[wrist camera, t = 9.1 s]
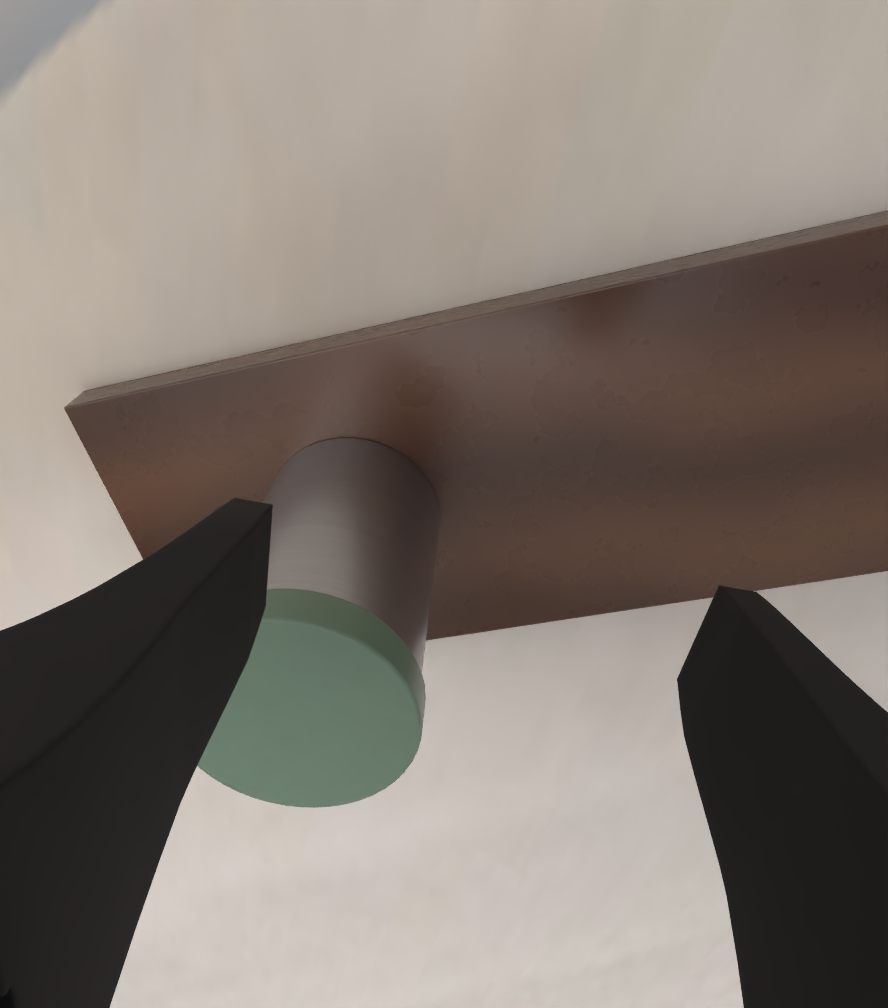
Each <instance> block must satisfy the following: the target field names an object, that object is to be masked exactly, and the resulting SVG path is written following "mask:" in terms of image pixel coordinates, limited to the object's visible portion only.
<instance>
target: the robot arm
mask: <svg viewBox="0 0 888 1008" xmlns="http://www.w3.org/2000/svg"><path fill="white" fill-rule="evenodd" d="M272 511H273V504H267V503H262V502H256V501H251V500H245V499H239V498H233V499H232V500H230V501H229V502H227V503H226V504H224V505H223V506H221V507H220V508H218V509H217V510H215V511H214V512H212V513H211V514H210V515H208V516H207V517H205V518H204V519H203V520H201V521H200V522H198V523H197V524H196V525H194V526H193V527H191V528H190V529H188V530H187V531H186V532H184V533H183V534H181V535H180V536H178V537H177V538H175V539H174V540H172V541H171V542H169V543H168V544H166V545H165V546H163V547H162V548H160V549H159V550H157V551H156V552H154V553H153V554H151V555H150V556H148V557H147V558H145V559H144V560H142V561H140V562H139V563H137V564H135V565H134V566H132V567H130V568H128V569H127V570H125V571H123V572H122V573H120V574H118V575H117V576H115V577H113V578H112V579H110V580H108V581H106V582H105V583H103V584H101V585H100V586H98V587H96V588H94V589H92V590H90V591H88V592H86V593H84V594H82V595H80V596H78V597H77V598H75V599H73V600H71V601H68V602H66V603H64V604H62V605H60V606H58V607H56V608H54V609H51V610H49V611H47V612H45V613H43V614H41V615H39V616H36V617H34V618H32V619H29V620H27V621H25V622H22V623H20V624H17V625H14V626H12V627H9V628H7V629H4V630H1V631H0V1008H109V1007H110V1004H111V1001H112V998H113V995H114V992H115V989H116V986H117V983H118V980H119V977H120V974H121V971H122V968H123V965H124V962H125V959H126V956H127V953H128V950H129V947H130V944H131V941H132V938H133V935H134V932H135V929H136V926H137V923H138V920H139V918H140V915H141V912H142V909H143V906H144V903H145V900H146V897H147V895H148V892H149V889H150V886H151V883H152V880H153V877H154V874H155V872H156V869H157V866H158V863H159V860H160V858H161V855H162V852H163V849H164V847H165V844H166V841H167V838H168V836H169V833H170V830H171V827H172V825H173V822H174V819H175V816H176V814H177V811H178V808H179V805H180V803H181V800H182V798H183V796H184V794H185V791H186V789H187V787H188V784H189V782H190V780H191V777H192V775H193V773H194V771H195V769H196V767H197V765H198V763H199V761H200V759H201V757H202V755H203V753H204V750H205V748H206V746H207V744H208V742H209V740H210V738H211V736H212V734H213V732H214V730H215V728H216V726H217V724H218V722H219V720H220V718H221V715H222V713H223V711H224V709H225V707H226V705H227V703H228V701H229V699H230V697H231V695H232V693H233V691H234V689H235V686H236V684H237V682H238V680H239V678H240V676H241V674H242V672H243V670H244V668H245V665H246V663H247V661H248V659H249V656H250V653H251V650H252V647H253V644H254V641H255V638H256V635H257V632H258V629H259V626H260V623H261V620H262V617H263V614H264V610H265V607H266V596H267V582H268V568H269V553H270V539H271V525H272ZM677 682H678V691H679V700H680V710H681V717H682V724H683V731H684V737H685V741H686V745H687V749H688V753H689V756H690V760H691V764H692V767H693V771H694V775H695V779H696V782H697V786H698V790H699V793H700V797H701V800H702V804H703V807H704V811H705V815H706V818H707V822H708V825H709V829H710V832H711V836H712V840H713V843H714V847H715V850H716V854H717V858H718V861H719V865H720V869H721V873H722V878H723V882H724V886H725V891H726V895H727V901H728V907H729V913H730V919H731V925H732V931H733V937H734V943H735V949H736V955H737V961H738V968H739V976H740V983H741V990H742V997H743V1004H744V1008H888V712H887V711H885V710H884V709H883V708H882V707H881V706H880V705H878V704H877V703H876V702H875V701H874V700H873V699H872V698H871V697H869V696H868V695H867V694H866V693H865V692H864V691H863V690H862V689H861V688H859V687H858V686H857V685H856V684H855V683H854V682H853V681H852V680H851V679H850V678H849V677H847V676H846V675H845V674H844V673H843V672H842V671H841V670H840V669H839V668H838V667H837V666H836V665H835V664H834V663H833V662H832V661H831V660H829V659H828V658H827V657H826V656H825V655H824V654H823V653H822V652H821V651H820V650H819V649H818V648H817V647H816V646H815V645H814V644H813V643H812V642H811V641H810V640H809V639H808V638H807V637H805V636H804V635H803V634H802V633H801V632H800V631H799V630H798V629H797V628H796V627H795V626H794V625H793V624H792V623H791V622H790V621H789V620H788V619H787V618H786V617H784V616H783V615H782V614H781V613H780V612H779V611H778V610H777V609H776V608H775V607H774V606H772V605H771V604H770V603H769V602H768V601H767V600H766V599H764V598H763V597H762V596H761V595H759V594H758V593H757V592H754V591H748V590H743V589H737V588H732V587H726V586H721V585H719V586H718V589H717V591H716V593H715V595H714V598H713V600H712V602H711V604H710V607H709V609H708V611H707V613H706V616H705V618H704V620H703V622H702V625H701V627H700V629H699V631H698V634H697V636H696V638H695V640H694V642H693V645H692V647H691V649H690V651H689V654H688V656H687V658H686V660H685V663H684V665H683V667H682V669H681V672H680V674H679V676H678V678H677Z"/></svg>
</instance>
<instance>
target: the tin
mask: <svg viewBox="0 0 888 1008" xmlns="http://www.w3.org/2000/svg"><path fill="white" fill-rule="evenodd" d="M263 503H267V504H273V511H272V525H271V539H270V553H269V568H268V582H267V596H266V607H265V610H264V614H263V617H262V620H261V623H260V626H259V629H258V632H257V635H256V638H255V641H254V644H253V647H252V650H251V653H250V656H249V659H248V661H247V663H246V665H245V668H244V670H243V672H242V674H241V676H240V678H239V680H238V682H237V684H236V686H235V689H234V691H233V693H232V695H231V697H230V699H229V701H228V703H227V705H226V707H225V709H224V711H223V713H222V715H221V718H220V720H219V722H218V724H217V726H216V728H215V730H214V732H213V734H212V736H211V738H210V740H209V742H208V744H207V746H206V748H205V750H204V753H203V755H202V757H201V759H200V761H199V763H198V765H197V766H198V767H199V768H200V769H202V770H203V771H204V772H206V773H207V774H208V775H210V776H211V777H212V778H214V779H216V780H217V781H219V782H221V783H222V784H224V785H226V786H227V787H230V788H232V789H234V790H236V791H238V792H240V793H243V794H245V795H248V796H250V797H253V798H256V799H260V800H263V801H267V802H270V803H275V804H281V805H286V806H295V807H330V806H337V805H343V804H348V803H352V802H355V801H359V800H362V799H364V798H367V797H369V796H372V795H374V794H376V793H378V792H380V791H381V790H383V789H385V788H386V787H388V786H389V785H390V784H392V783H393V782H395V781H396V780H397V779H398V778H399V777H400V776H401V775H402V774H403V773H404V772H405V770H406V769H407V768H408V766H409V765H410V764H411V762H412V761H413V759H414V757H415V755H416V753H417V751H418V748H419V744H420V741H421V735H422V726H423V717H424V708H425V699H426V696H425V684H424V680H423V676H422V666H423V658H424V650H425V642H426V633H427V625H428V617H429V608H430V600H431V592H432V584H433V575H434V567H435V559H436V551H437V542H438V534H439V525H440V510H439V505H438V501H437V498H436V495H435V492H434V490H433V488H432V486H431V484H430V483H429V481H428V480H427V478H426V477H425V475H424V474H423V473H422V472H421V471H420V469H419V468H418V467H417V466H416V465H415V464H414V463H412V462H411V461H410V460H409V459H408V458H406V457H405V456H403V455H402V454H400V453H399V452H397V451H395V450H393V449H391V448H389V447H387V446H385V445H382V444H379V443H376V442H373V441H369V440H364V439H356V438H337V439H330V440H325V441H322V442H318V443H315V444H313V445H310V446H308V447H306V448H304V449H303V450H301V451H299V452H298V453H296V454H295V455H294V456H293V457H291V458H290V459H289V460H288V461H287V462H286V463H285V464H284V465H283V467H282V468H281V470H280V471H279V473H278V474H277V476H276V478H275V480H274V482H273V484H272V485H271V487H270V489H269V491H268V493H267V495H266V497H265V499H264V501H263Z"/></svg>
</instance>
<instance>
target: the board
mask: <svg viewBox="0 0 888 1008" xmlns="http://www.w3.org/2000/svg"><path fill="white" fill-rule="evenodd" d="M65 411H66V413H67V414H68V416H69V418H70V420H71V422H72V424H73V426H74V428H75V430H76V432H77V434H78V435H79V437H80V439H81V441H82V443H83V445H84V447H85V449H86V451H87V453H88V455H89V456H90V458H91V460H92V462H93V464H94V466H95V468H96V470H97V472H98V474H99V476H100V478H101V479H102V481H103V483H104V485H105V487H106V489H107V491H108V493H109V495H110V497H111V499H112V500H113V502H114V504H115V506H116V508H117V510H118V512H119V514H120V516H121V518H122V520H123V522H124V523H125V525H126V527H127V529H128V531H129V533H130V535H131V537H132V539H133V541H134V543H135V544H136V546H137V548H138V550H139V552H140V554H141V556H142V558H143V560H144V559H145V558H147V557H148V556H150V555H151V554H153V553H154V552H156V551H157V550H159V549H160V548H162V547H163V546H165V545H166V544H168V543H169V542H171V541H172V540H174V539H175V538H177V537H178V536H180V535H181V534H183V533H184V532H186V531H187V530H188V529H190V528H191V527H193V526H194V525H196V524H197V523H198V522H200V521H201V520H203V519H204V518H205V517H207V516H208V515H210V514H211V513H212V512H214V511H215V510H217V509H218V508H220V507H221V506H223V505H224V504H226V503H227V502H229V501H230V500H232V499H233V498H239V499H245V500H251V501H256V502H262V503H263V501H264V499H265V497H266V495H267V493H268V491H269V489H270V487H271V485H272V484H273V482H274V480H275V478H276V476H277V474H278V473H279V471H280V470H281V468H282V467H283V465H284V464H285V463H286V462H287V461H288V460H289V459H290V458H291V457H293V456H294V455H295V454H296V453H298V452H299V451H301V450H303V449H304V448H306V447H308V446H310V445H313V444H315V443H318V442H322V441H325V440H330V439H337V438H356V439H364V440H369V441H373V442H376V443H379V444H382V445H385V446H387V447H389V448H391V449H393V450H395V451H397V452H399V453H400V454H402V455H403V456H405V457H406V458H408V459H409V460H410V461H411V462H412V463H414V464H415V465H416V466H417V467H418V468H419V469H420V471H421V472H422V473H423V474H424V475H425V477H426V478H427V480H428V481H429V483H430V484H431V486H432V488H433V490H434V492H435V495H436V498H437V501H438V505H439V510H440V525H439V534H438V542H437V551H436V559H435V567H434V575H433V584H432V592H431V600H430V608H429V617H428V625H427V633H426V640H432V639H438V638H445V637H452V636H458V635H465V634H472V633H478V632H485V631H492V630H498V629H505V628H512V627H518V626H525V625H531V624H538V623H545V622H551V621H558V620H565V619H571V618H578V617H585V616H591V615H598V614H605V613H611V612H618V611H625V610H631V609H638V608H644V607H651V606H658V605H664V604H671V603H678V602H684V601H691V600H698V599H704V598H711V597H714V595H715V593H716V591H717V589H718V586H719V585H721V586H726V587H732V588H737V589H743V590H748V591H757V590H764V589H771V588H777V587H784V586H791V585H797V584H804V583H811V582H817V581H824V580H831V579H837V578H844V577H851V576H857V575H864V574H870V573H877V572H884V571H888V211H885V212H881V213H876V214H872V215H867V216H863V217H859V218H854V219H850V220H845V221H841V222H836V223H832V224H827V225H823V226H818V227H814V228H810V229H805V230H801V231H796V232H792V233H787V234H783V235H778V236H774V237H769V238H765V239H761V240H756V241H752V242H747V243H743V244H738V245H734V246H729V247H725V248H720V249H716V250H712V251H707V252H703V253H698V254H694V255H689V256H685V257H680V258H676V259H671V260H667V261H663V262H658V263H654V264H649V265H645V266H640V267H636V268H631V269H627V270H622V271H618V272H614V273H609V274H605V275H600V276H596V277H591V278H587V279H582V280H578V281H573V282H569V283H565V284H560V285H556V286H551V287H547V288H542V289H538V290H533V291H529V292H524V293H520V294H516V295H511V296H507V297H502V298H498V299H493V300H489V301H484V302H480V303H476V304H471V305H467V306H462V307H458V308H453V309H449V310H444V311H440V312H435V313H431V314H427V315H422V316H418V317H413V318H409V319H404V320H400V321H395V322H391V323H386V324H382V325H378V326H373V327H369V328H364V329H360V330H355V331H351V332H346V333H342V334H337V335H333V336H329V337H324V338H320V339H315V340H311V341H306V342H302V343H297V344H293V345H288V346H284V347H280V348H275V349H271V350H266V351H262V352H257V353H253V354H248V355H244V356H239V357H235V358H231V359H226V360H222V361H217V362H213V363H208V364H204V365H199V366H195V367H190V368H186V369H182V370H177V371H173V372H168V373H164V374H159V375H155V376H150V377H146V378H141V379H137V380H133V381H128V382H124V383H119V384H115V385H110V386H106V387H101V388H97V389H93V390H88V391H84V392H83V393H81V394H80V395H79V396H78V397H76V398H75V399H74V400H73V401H72V402H70V403H69V404H68V405H67V406H66V407H65Z"/></svg>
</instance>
